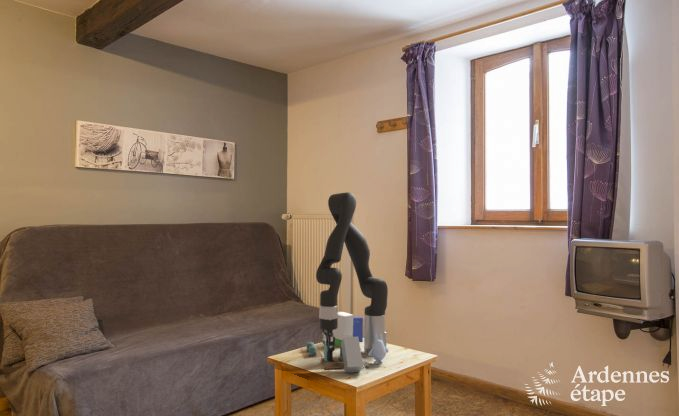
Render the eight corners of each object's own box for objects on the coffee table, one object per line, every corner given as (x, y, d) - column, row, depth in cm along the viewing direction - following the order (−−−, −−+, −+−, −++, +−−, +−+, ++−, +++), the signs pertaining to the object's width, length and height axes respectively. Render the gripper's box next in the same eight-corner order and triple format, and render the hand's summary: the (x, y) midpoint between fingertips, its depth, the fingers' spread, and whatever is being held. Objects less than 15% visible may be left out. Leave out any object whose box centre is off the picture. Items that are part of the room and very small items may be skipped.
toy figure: (383, 359, 201) (383, 331, 201) (392, 363, 196) (393, 334, 196) (363, 363, 195) (363, 334, 195) (373, 367, 190) (373, 338, 190)
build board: (346, 362, 196) (346, 340, 196) (351, 368, 189) (351, 346, 189) (320, 364, 194) (321, 342, 194) (324, 370, 186) (324, 347, 186)
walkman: (361, 340, 231) (361, 316, 231) (362, 342, 228) (362, 317, 228) (345, 340, 230) (346, 316, 230) (346, 342, 227) (346, 317, 228)
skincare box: (330, 346, 220) (331, 313, 220) (341, 343, 225) (341, 311, 225) (343, 350, 214) (343, 315, 214) (353, 347, 219) (353, 313, 219)
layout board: (317, 351, 212) (317, 340, 212) (323, 359, 200) (323, 348, 200) (300, 352, 211) (300, 341, 211) (304, 360, 198) (304, 349, 198)
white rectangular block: (355, 342, 192) (358, 336, 188) (359, 371, 185) (363, 366, 180) (340, 343, 191) (343, 337, 186) (345, 372, 183) (347, 367, 179)
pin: (331, 365, 192) (331, 343, 192) (332, 367, 189) (332, 345, 189) (323, 365, 192) (323, 343, 192) (324, 368, 189) (325, 345, 189)
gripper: (316, 313, 197) (315, 353, 197) (322, 320, 183) (322, 364, 183) (333, 312, 199) (333, 352, 198) (341, 320, 185) (341, 363, 184)
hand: (328, 358), depth 190 cm, fingers open, 5 cm apart
